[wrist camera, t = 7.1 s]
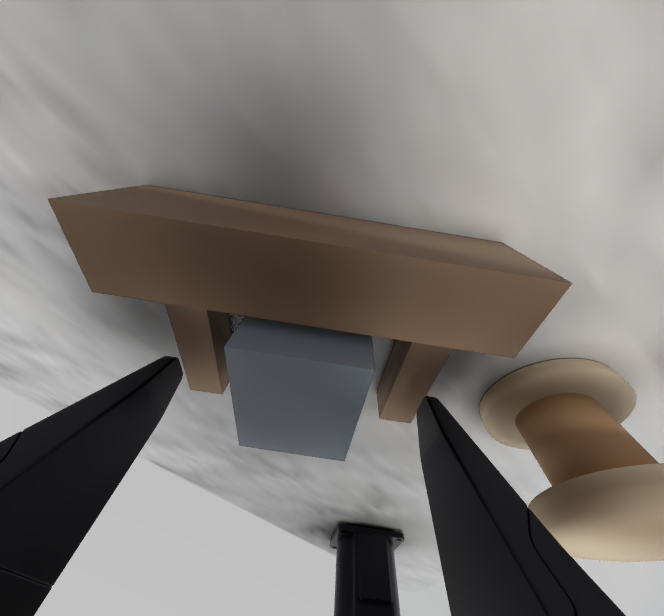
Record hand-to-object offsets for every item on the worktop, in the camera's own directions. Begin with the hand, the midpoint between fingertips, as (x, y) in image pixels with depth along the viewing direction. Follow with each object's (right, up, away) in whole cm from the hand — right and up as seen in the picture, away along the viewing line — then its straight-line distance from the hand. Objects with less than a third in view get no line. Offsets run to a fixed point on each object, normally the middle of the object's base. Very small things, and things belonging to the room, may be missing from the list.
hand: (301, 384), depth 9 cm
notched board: (0, +2, +2) cm, 3 cm away
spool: (+12, -2, +3) cm, 12 cm away
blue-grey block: (0, +2, +2) cm, 3 cm away
